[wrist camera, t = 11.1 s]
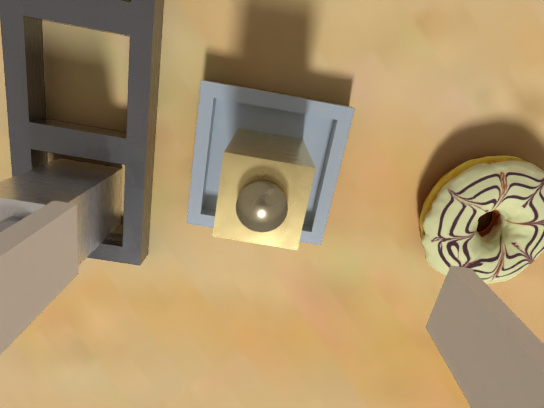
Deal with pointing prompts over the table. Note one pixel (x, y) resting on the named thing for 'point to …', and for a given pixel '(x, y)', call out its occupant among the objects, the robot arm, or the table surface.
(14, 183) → the grey knobbed block
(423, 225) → the decorated donut
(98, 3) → the rail
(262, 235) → the gold block with knob
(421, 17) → the table surface
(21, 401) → the table surface
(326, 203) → the parts tray
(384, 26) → the table surface
